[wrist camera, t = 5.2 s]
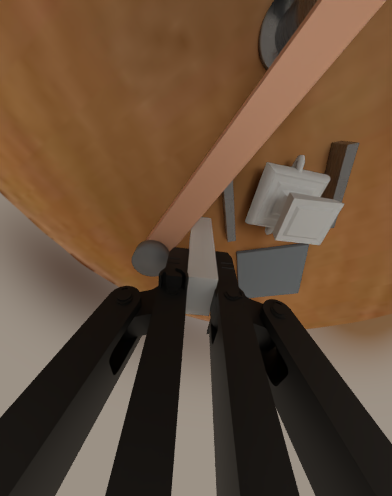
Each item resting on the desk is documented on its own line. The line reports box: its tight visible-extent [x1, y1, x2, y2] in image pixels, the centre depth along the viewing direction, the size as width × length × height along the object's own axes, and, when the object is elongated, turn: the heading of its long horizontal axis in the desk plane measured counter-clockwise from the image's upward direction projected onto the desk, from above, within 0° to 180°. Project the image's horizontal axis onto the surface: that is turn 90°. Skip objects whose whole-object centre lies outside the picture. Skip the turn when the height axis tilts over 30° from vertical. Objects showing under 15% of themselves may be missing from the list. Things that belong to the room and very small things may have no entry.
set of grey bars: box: [222, 0, 359, 242], centre depth 15 cm, size 20×13×10 cm, turn 9°
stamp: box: [245, 155, 344, 245], centre depth 18 cm, size 9×7×8 cm
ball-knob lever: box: [132, 0, 386, 276], centre depth 9 cm, size 20×4×2 cm, turn 142°
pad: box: [237, 243, 309, 298], centre depth 29 cm, size 10×10×1 cm
